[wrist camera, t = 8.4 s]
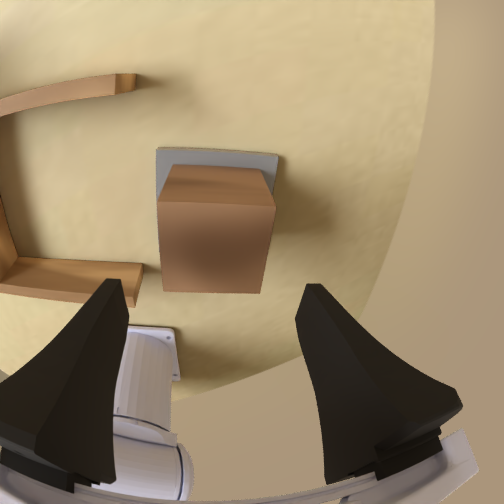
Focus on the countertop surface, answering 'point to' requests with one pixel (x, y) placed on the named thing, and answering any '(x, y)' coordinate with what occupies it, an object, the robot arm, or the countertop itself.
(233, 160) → the slate coaster
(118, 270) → the oak bracket
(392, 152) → the countertop surface
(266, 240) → the walnut block
